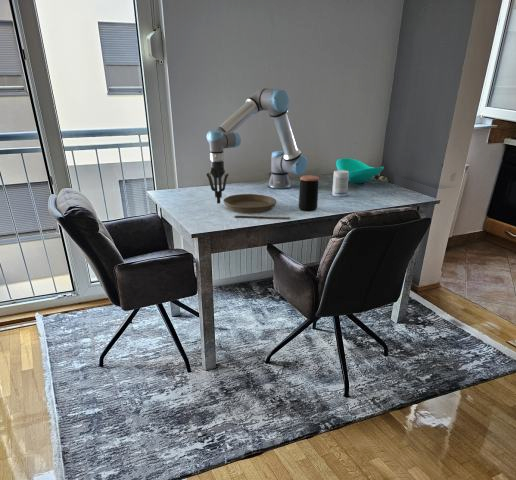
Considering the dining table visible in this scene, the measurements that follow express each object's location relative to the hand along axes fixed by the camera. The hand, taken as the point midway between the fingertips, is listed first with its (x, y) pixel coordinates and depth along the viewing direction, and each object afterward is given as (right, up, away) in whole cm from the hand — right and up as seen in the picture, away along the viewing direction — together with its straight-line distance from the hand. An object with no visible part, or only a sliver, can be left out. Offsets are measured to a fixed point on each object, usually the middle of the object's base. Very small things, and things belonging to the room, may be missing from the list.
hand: (218, 202), depth 276 cm
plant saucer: (+19, -3, 0) cm, 19 cm away
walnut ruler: (+26, -14, -18) cm, 34 cm away
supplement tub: (+76, +13, +26) cm, 81 cm away
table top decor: (+94, +32, +58) cm, 115 cm away
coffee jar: (+52, -5, -3) cm, 53 cm away
